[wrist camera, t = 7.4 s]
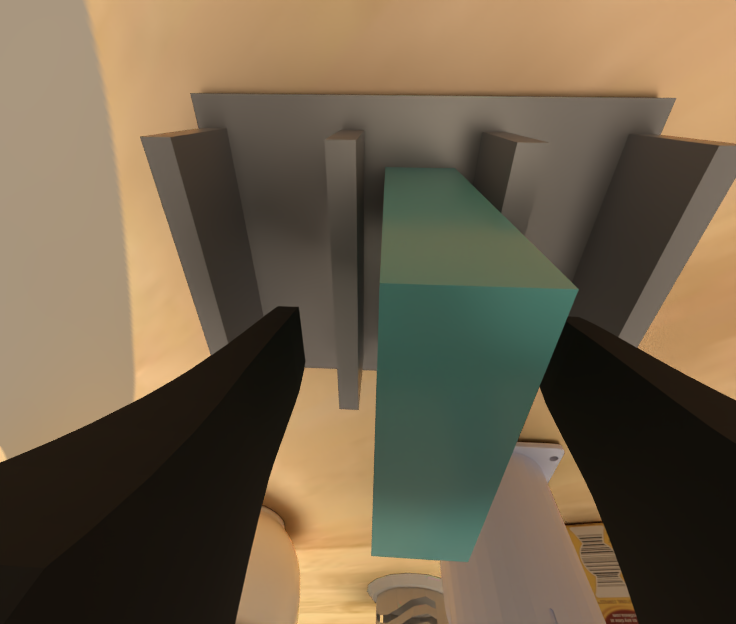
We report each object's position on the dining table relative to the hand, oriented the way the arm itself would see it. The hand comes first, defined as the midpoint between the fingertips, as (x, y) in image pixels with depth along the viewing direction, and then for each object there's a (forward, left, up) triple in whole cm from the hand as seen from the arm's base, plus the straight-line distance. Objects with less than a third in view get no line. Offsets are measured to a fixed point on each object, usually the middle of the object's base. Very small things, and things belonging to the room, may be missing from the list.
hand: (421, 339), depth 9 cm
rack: (0, 0, -6) cm, 6 cm away
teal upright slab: (0, 0, -5) cm, 5 cm away
